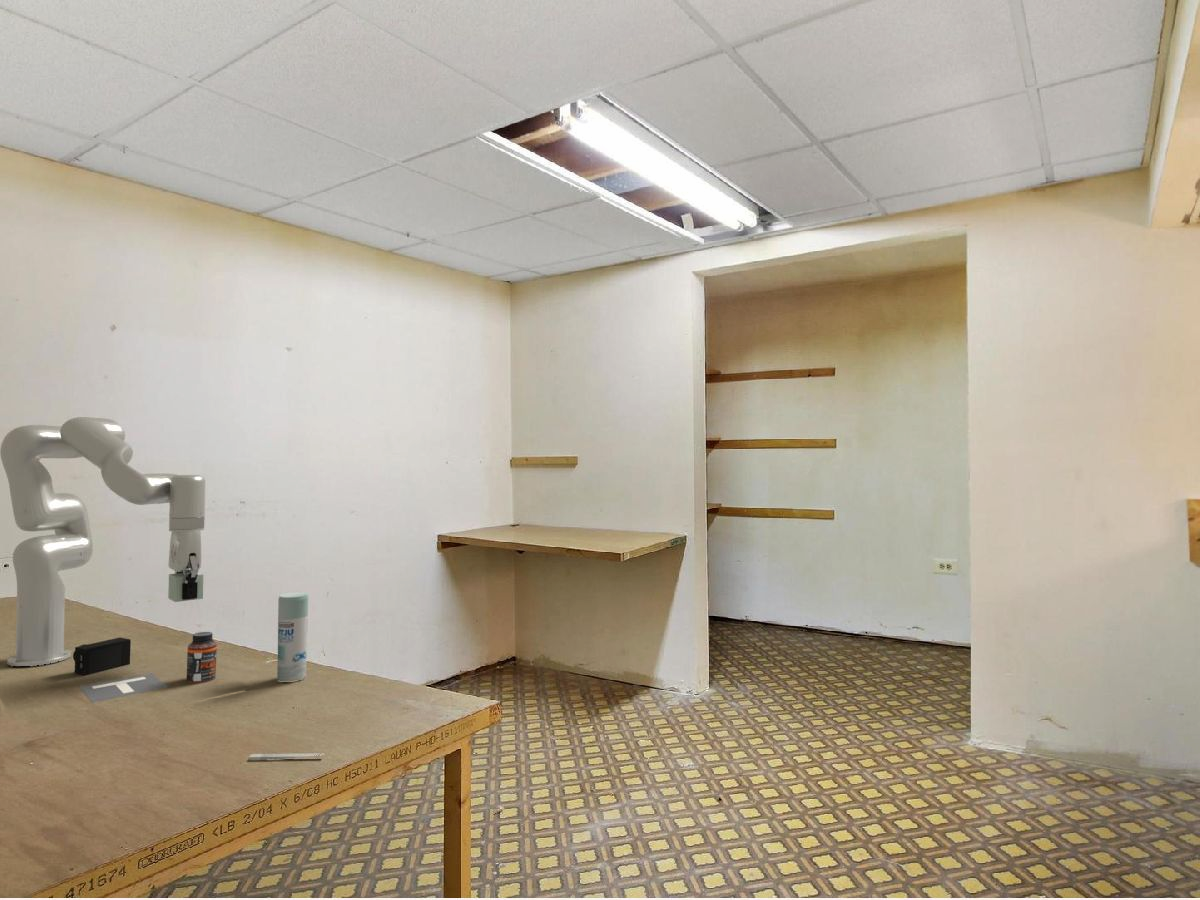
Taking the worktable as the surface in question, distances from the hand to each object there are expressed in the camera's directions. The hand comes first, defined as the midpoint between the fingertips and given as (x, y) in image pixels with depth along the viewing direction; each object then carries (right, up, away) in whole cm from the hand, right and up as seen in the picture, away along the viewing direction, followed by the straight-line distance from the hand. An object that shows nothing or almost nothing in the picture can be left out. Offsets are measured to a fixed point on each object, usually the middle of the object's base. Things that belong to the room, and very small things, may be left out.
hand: (185, 596), depth 169 cm
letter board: (-4, -18, -16) cm, 24 cm away
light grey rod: (+48, -19, -49) cm, 71 cm away
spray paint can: (+30, -18, -7) cm, 35 cm away
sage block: (0, -1, 0) cm, 1 cm away
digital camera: (-19, -18, -3) cm, 26 cm away
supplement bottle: (+10, -18, -10) cm, 23 cm away
